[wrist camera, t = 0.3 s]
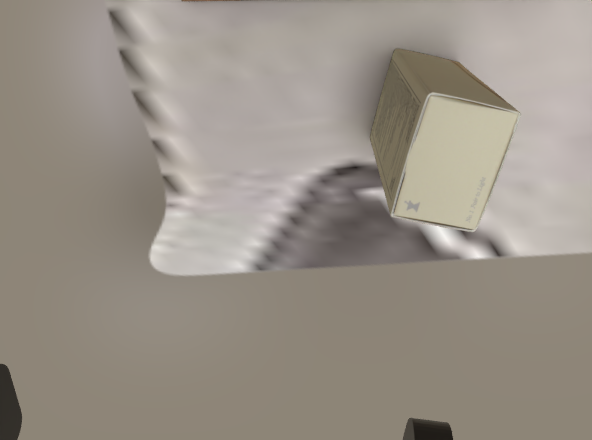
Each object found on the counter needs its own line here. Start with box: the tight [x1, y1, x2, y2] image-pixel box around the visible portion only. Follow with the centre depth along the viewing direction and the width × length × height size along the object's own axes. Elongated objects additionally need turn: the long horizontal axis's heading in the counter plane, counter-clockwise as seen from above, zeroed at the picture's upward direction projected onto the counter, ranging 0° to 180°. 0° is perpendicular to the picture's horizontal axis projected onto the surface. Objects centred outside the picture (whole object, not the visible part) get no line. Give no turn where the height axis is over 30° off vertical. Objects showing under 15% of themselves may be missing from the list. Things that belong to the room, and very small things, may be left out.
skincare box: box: [370, 49, 521, 232], centre depth 30 cm, size 6×4×12 cm
